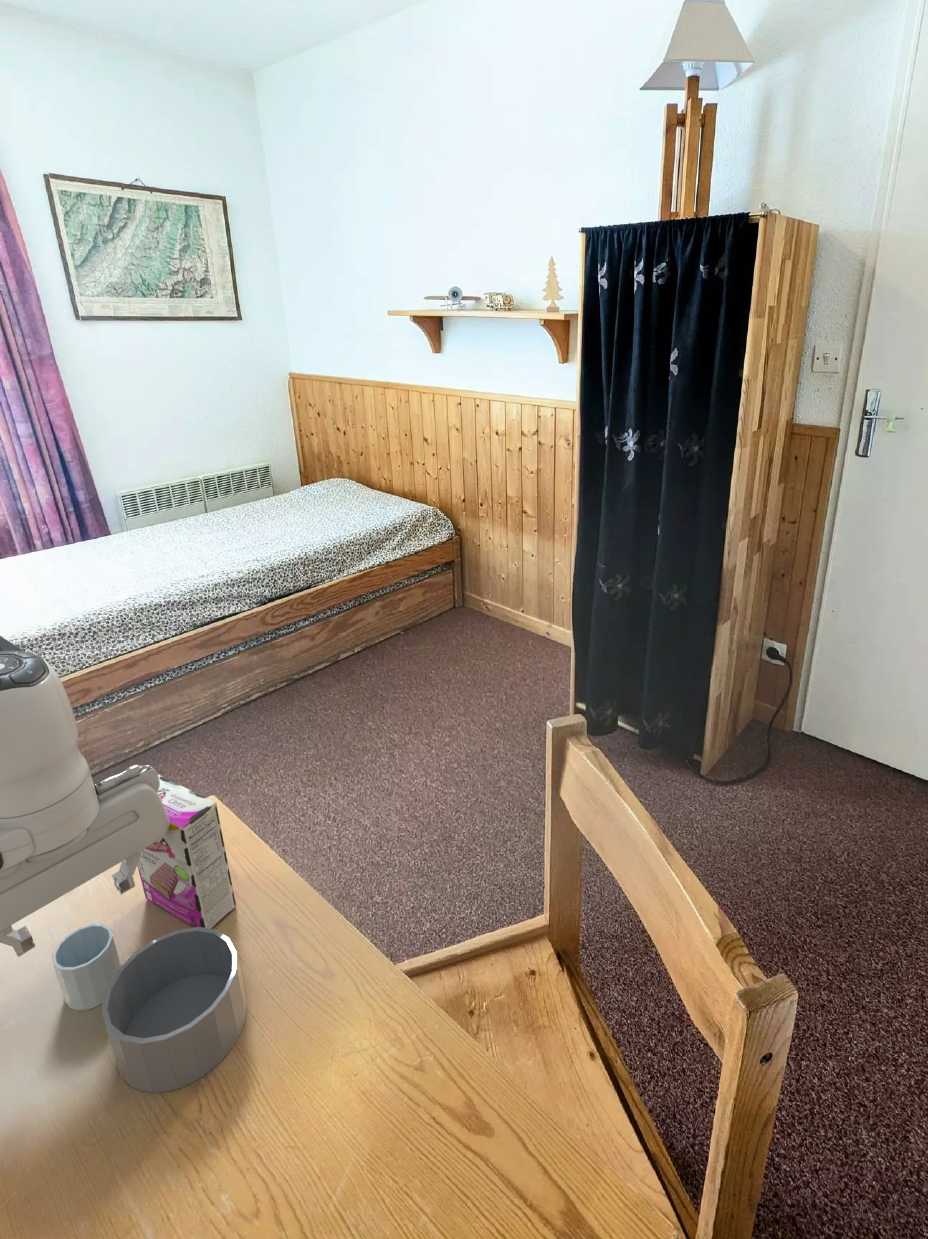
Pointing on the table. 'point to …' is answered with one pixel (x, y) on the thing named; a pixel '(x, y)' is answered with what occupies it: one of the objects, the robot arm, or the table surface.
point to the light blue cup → (86, 965)
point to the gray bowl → (175, 1009)
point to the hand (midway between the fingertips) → (77, 917)
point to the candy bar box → (188, 860)
